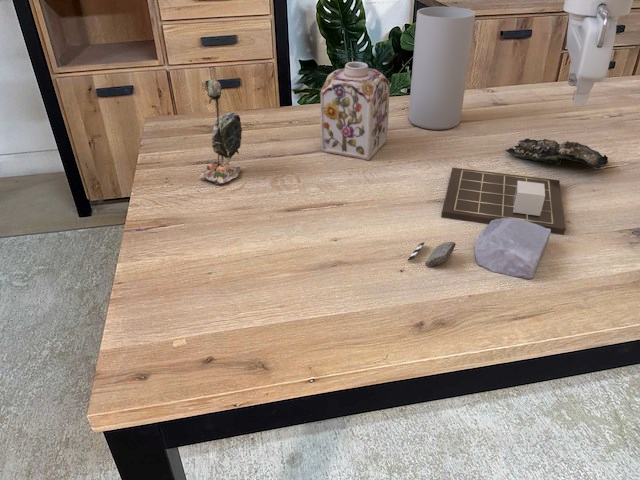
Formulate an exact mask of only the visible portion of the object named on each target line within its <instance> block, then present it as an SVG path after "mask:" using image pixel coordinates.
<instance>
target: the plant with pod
mask: <svg viewBox="0 0 640 480" xmlns="http://www.w3.org/2000/svg"><path fill="white" fill-rule="evenodd" d="M206 90H207V91H206V93H207V96H208V97H209V100H208V104H209V105H211V104H212V101H213V100H214V101H215V107H216V121H214V124H213V127H212V134H211V138H210V141H211V147H212V149H213V152H214V153H215V154H217V160H216V161H212V162H210V163H208V165H207V166H206V168H205V169H204V170H203V171H201V173H200V175H199V177H198V179H200V180H203V179H205V178H206V179H205V180H208V181H210V182H212V183H215V184H216V185H222V184H225V183H228V182H230V181H232V179H234V178H235V179H236V178H238V177H239V174H240V171H241V166H230V161H231V159H232V157H233V156H234V155H235V154H239V155H240V152H239V149H240V148H241V145H242V144H241V143H242V139H243V138H242V132H243V130H242V129H243V128H242V121H241V117H240V115H239V114H237V113H236V112H229V111H228V112H225V113H224V114H223V115H221V116H220V112H219V110H220V109H219V108H220V107H219V99H221V97H222V84H221V83H220V82H219V81H218V80H216V79H213V78H211V79H210V80H208V81H207V86H206ZM220 157H221V159H220ZM220 160H221V162H220Z"/></svg>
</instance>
